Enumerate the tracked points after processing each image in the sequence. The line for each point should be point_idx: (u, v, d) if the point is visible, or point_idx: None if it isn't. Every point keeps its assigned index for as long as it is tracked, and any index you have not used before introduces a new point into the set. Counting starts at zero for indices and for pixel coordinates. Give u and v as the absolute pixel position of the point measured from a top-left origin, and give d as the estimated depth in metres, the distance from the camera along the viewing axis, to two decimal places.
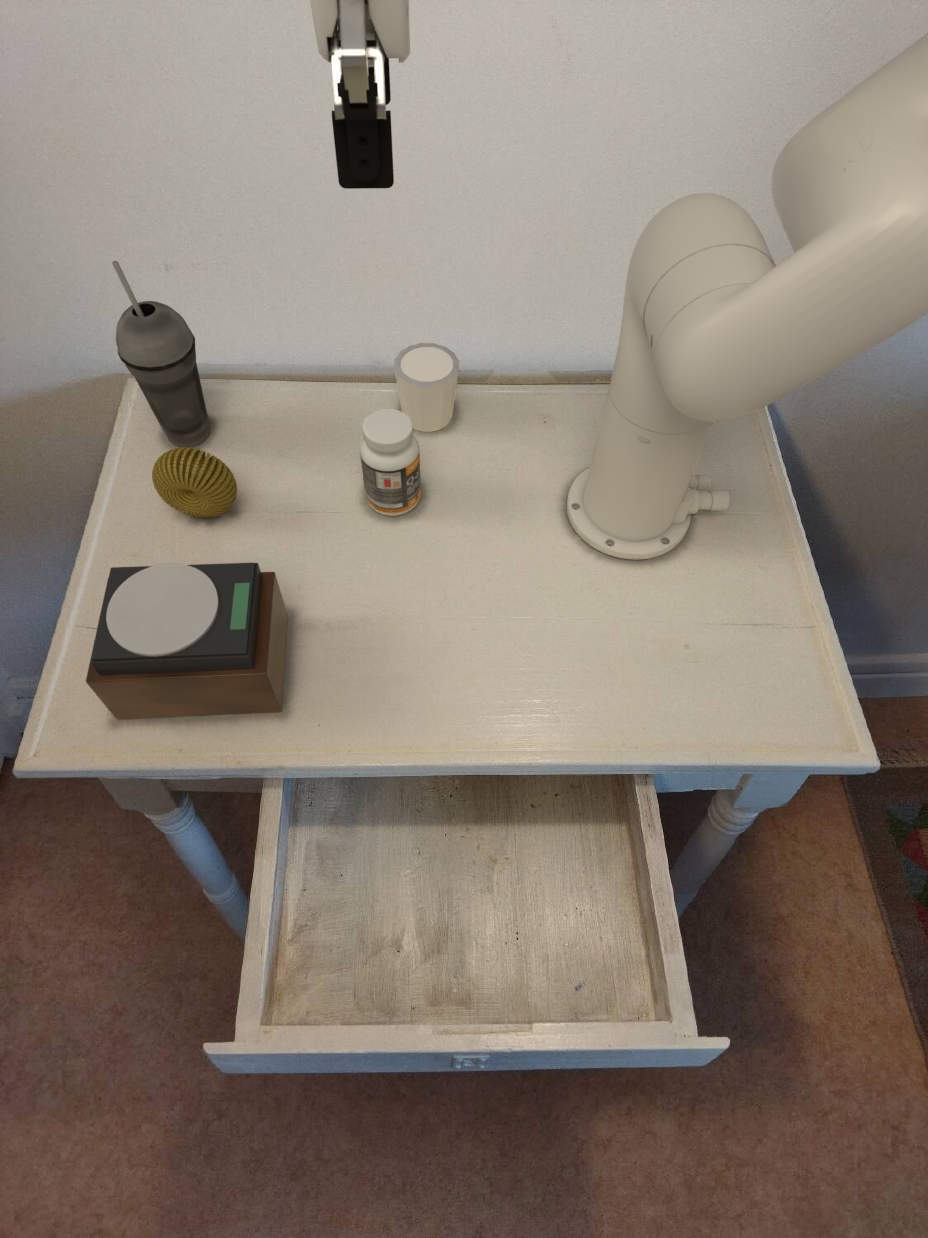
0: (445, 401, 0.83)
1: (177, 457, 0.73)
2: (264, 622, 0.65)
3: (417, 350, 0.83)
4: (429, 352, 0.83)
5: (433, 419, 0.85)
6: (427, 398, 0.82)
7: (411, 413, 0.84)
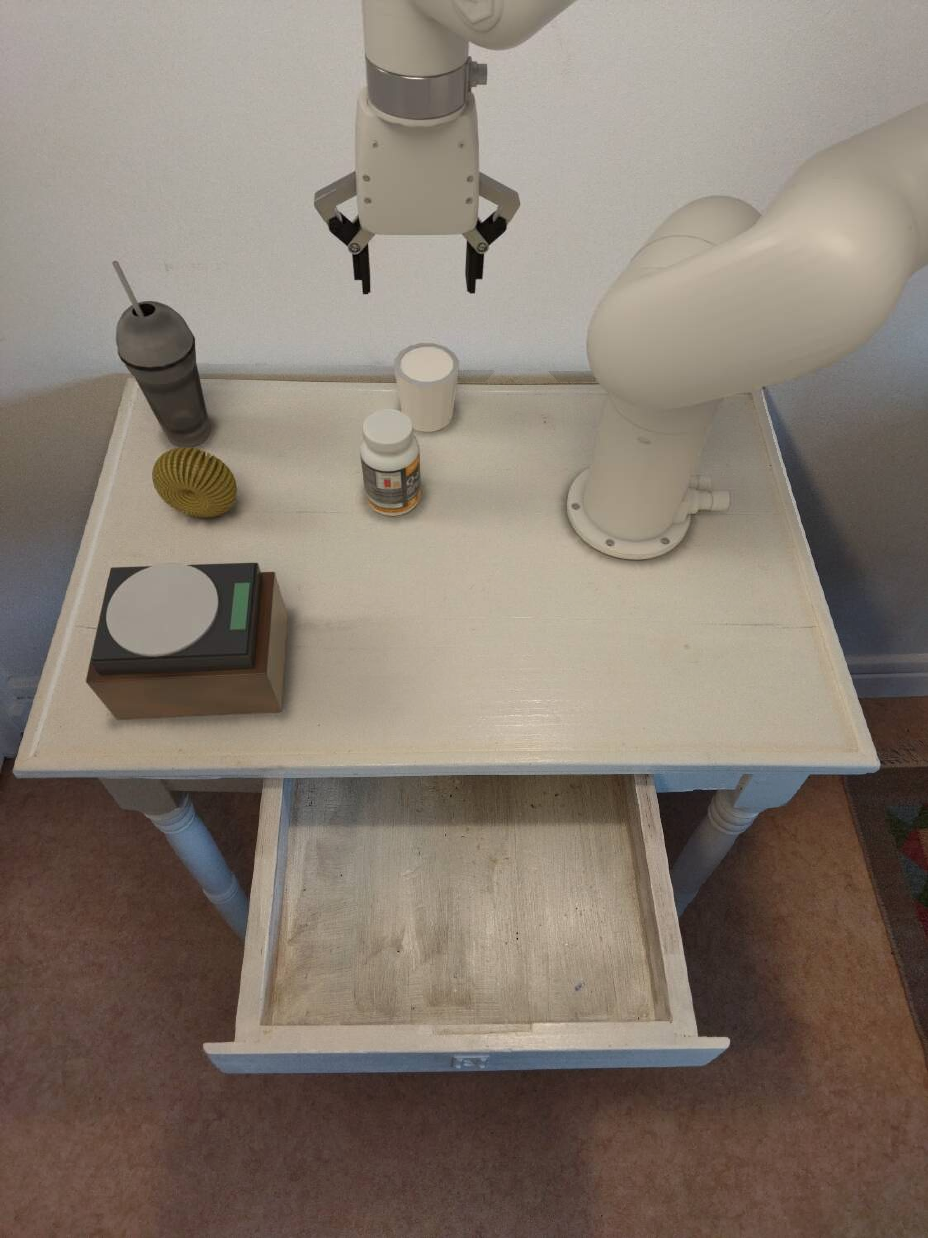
0: (445, 401, 0.83)
1: (177, 457, 0.73)
2: (264, 622, 0.65)
3: (417, 350, 0.83)
4: (429, 352, 0.83)
5: (433, 419, 0.85)
6: (427, 398, 0.82)
7: (411, 413, 0.84)
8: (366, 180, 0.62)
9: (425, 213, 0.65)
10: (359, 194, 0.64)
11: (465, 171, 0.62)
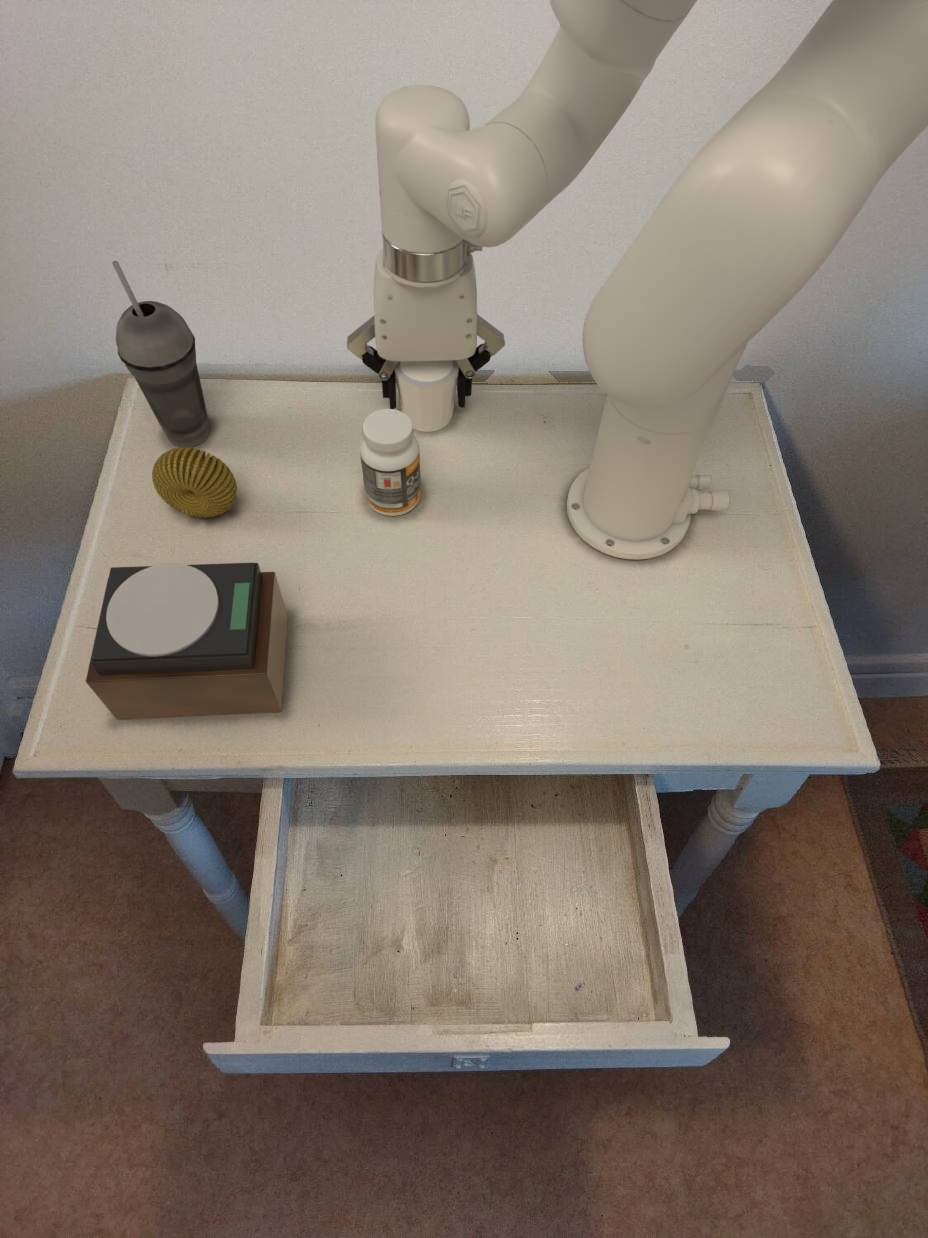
0: (445, 400, 0.83)
1: (177, 457, 0.73)
2: (264, 622, 0.65)
3: None
4: None
5: (433, 419, 0.85)
6: (427, 398, 0.82)
7: (411, 413, 0.84)
8: (383, 323, 0.75)
9: (432, 346, 0.77)
10: (377, 332, 0.76)
11: (465, 315, 0.75)
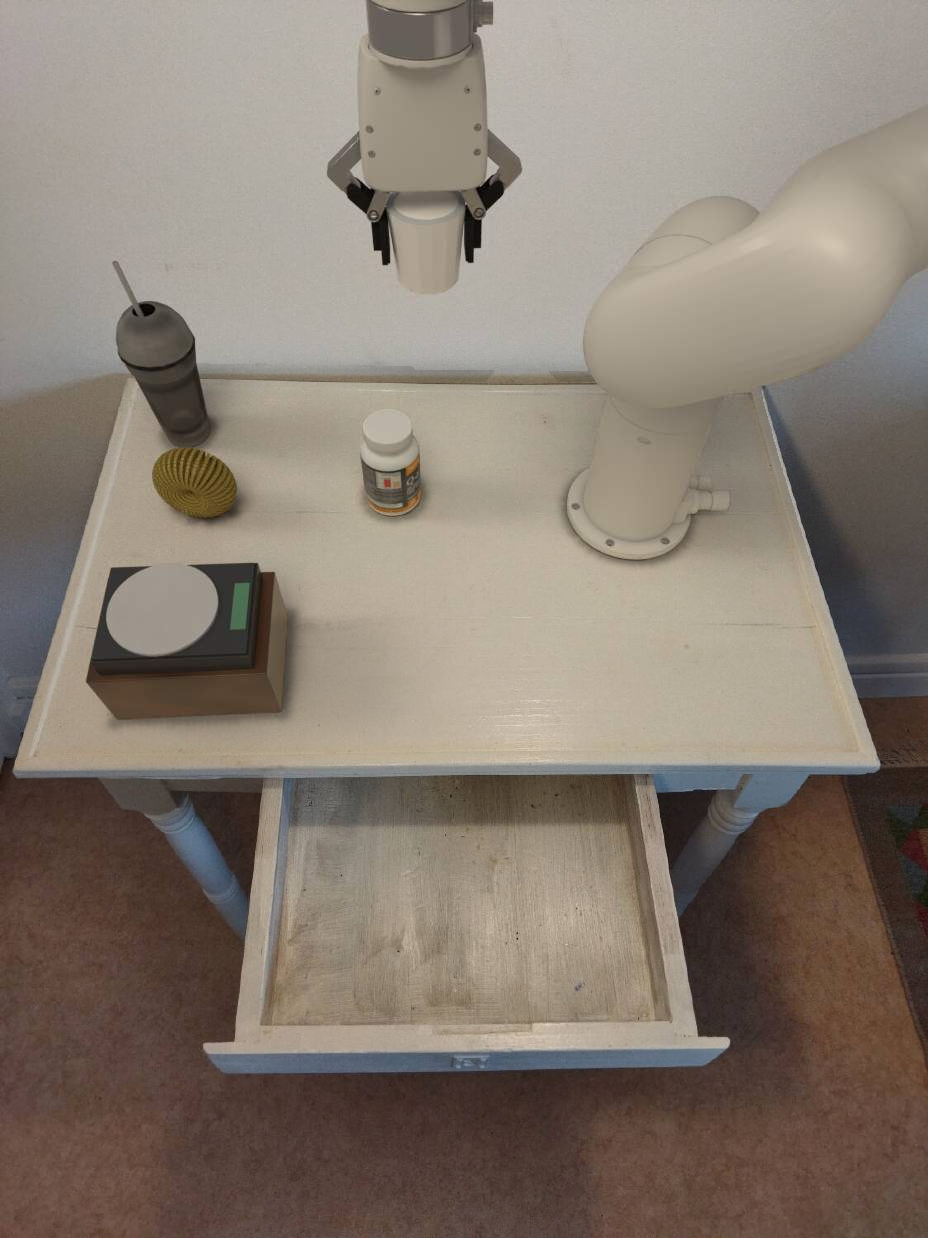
0: (449, 249, 0.68)
1: (177, 457, 0.73)
2: (264, 622, 0.65)
3: None
4: None
5: (435, 275, 0.70)
6: (427, 243, 0.67)
7: (408, 268, 0.69)
8: (369, 131, 0.60)
9: (431, 166, 0.62)
10: (362, 147, 0.61)
11: (472, 119, 0.59)
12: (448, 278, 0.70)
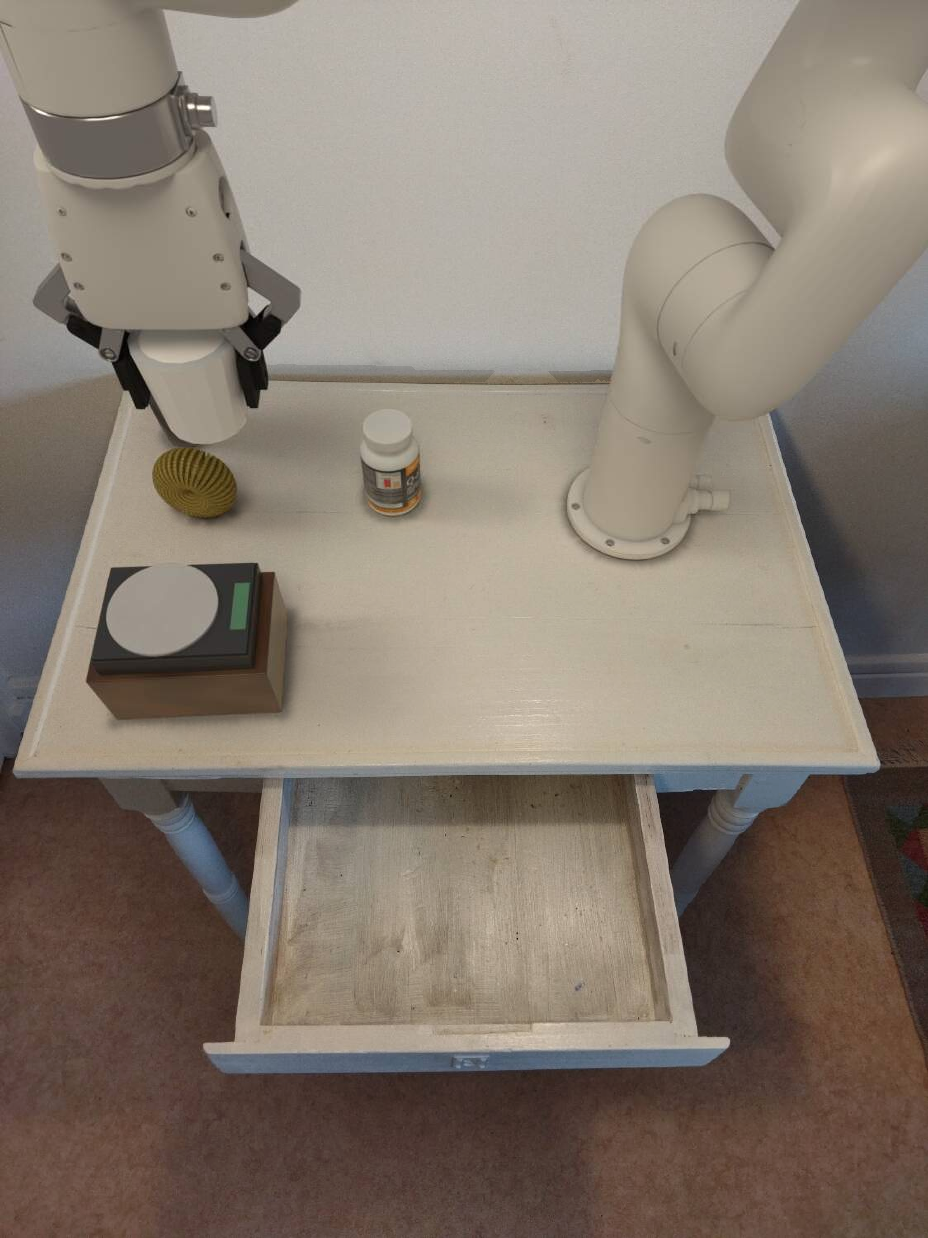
0: (217, 395, 0.52)
1: (177, 457, 0.73)
2: (264, 622, 0.65)
3: None
4: None
5: (204, 425, 0.53)
6: (181, 391, 0.50)
7: (168, 415, 0.53)
8: (67, 260, 0.44)
9: (166, 303, 0.46)
10: (66, 277, 0.45)
11: (207, 248, 0.43)
12: (225, 426, 0.54)
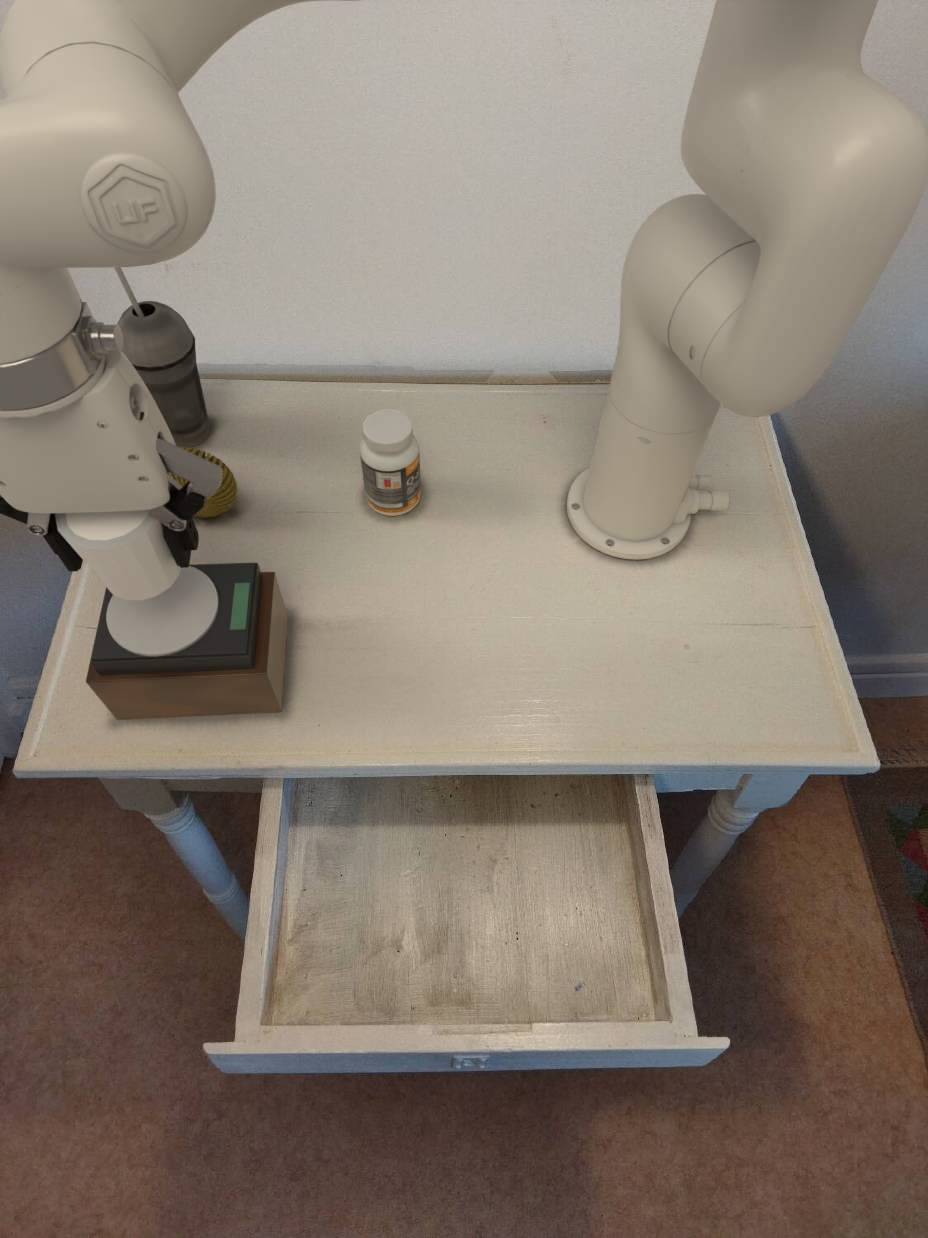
0: (145, 562, 0.53)
1: None
2: (264, 622, 0.65)
3: None
4: None
5: (135, 586, 0.55)
6: (108, 563, 0.52)
7: (100, 578, 0.54)
8: None
9: (87, 494, 0.47)
10: None
11: (122, 451, 0.45)
12: (157, 584, 0.56)
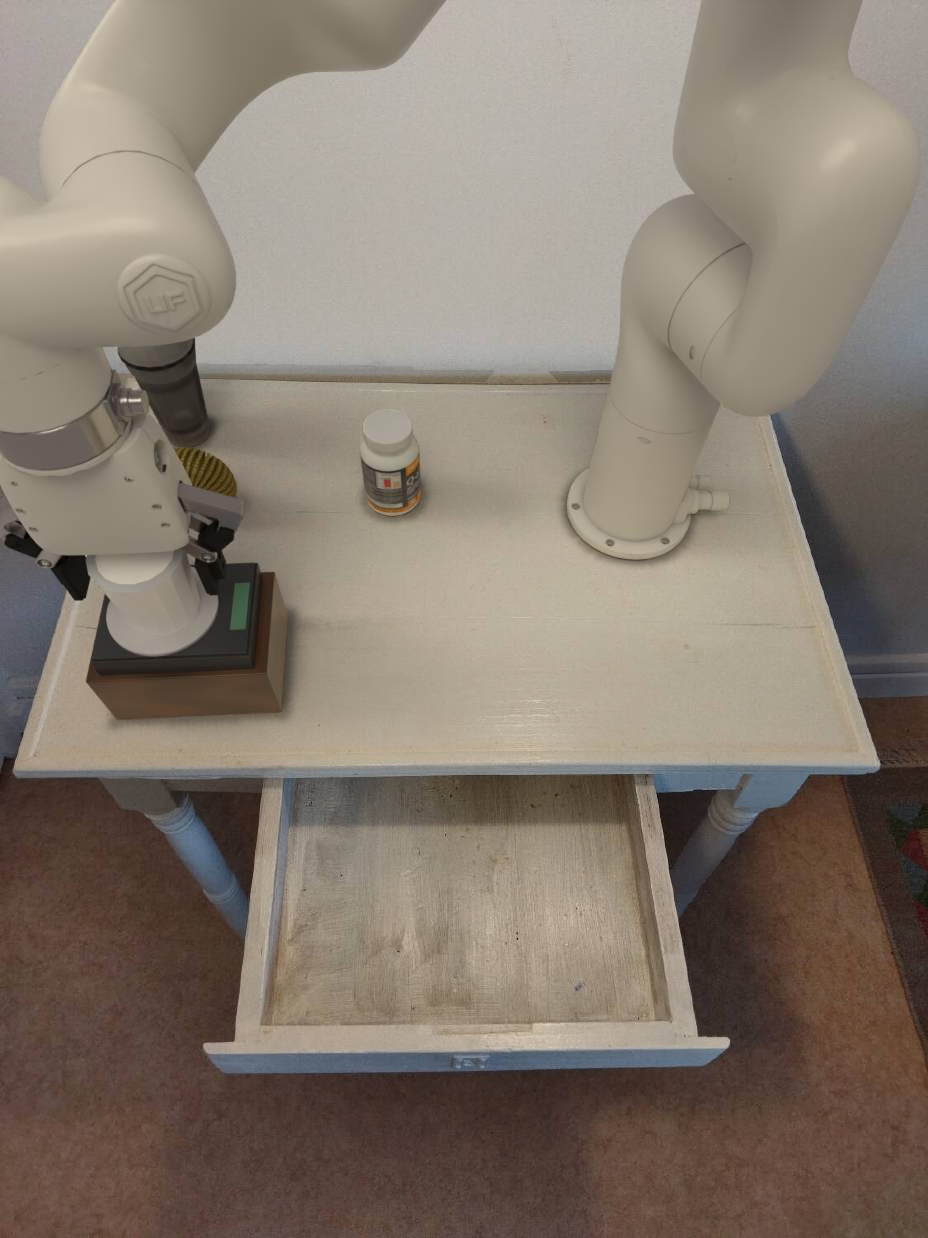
0: (168, 602, 0.57)
1: None
2: (264, 622, 0.65)
3: None
4: None
5: (158, 624, 0.59)
6: (135, 604, 0.56)
7: (125, 616, 0.59)
8: (22, 512, 0.49)
9: (113, 538, 0.51)
10: (22, 522, 0.50)
11: (146, 501, 0.48)
12: (178, 621, 0.60)
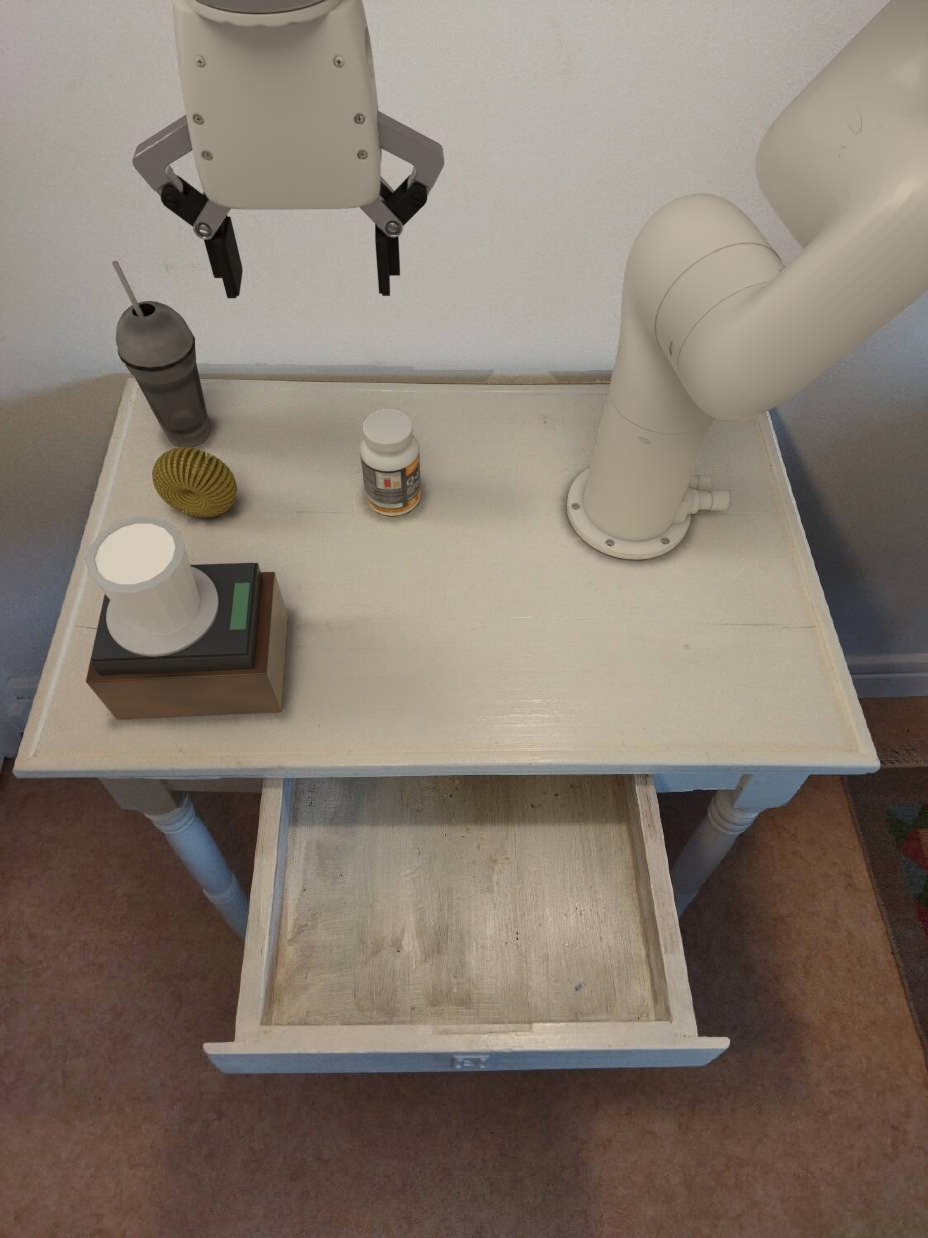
0: (168, 602, 0.57)
1: (177, 457, 0.73)
2: (264, 622, 0.65)
3: (127, 529, 0.57)
4: (144, 533, 0.57)
5: (158, 624, 0.59)
6: (135, 604, 0.56)
7: (125, 616, 0.59)
8: (199, 122, 0.41)
9: (297, 175, 0.43)
10: (193, 146, 0.42)
11: (350, 106, 0.40)
12: (178, 621, 0.60)
